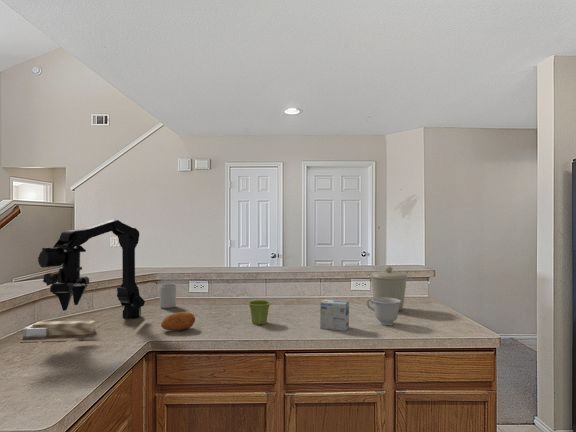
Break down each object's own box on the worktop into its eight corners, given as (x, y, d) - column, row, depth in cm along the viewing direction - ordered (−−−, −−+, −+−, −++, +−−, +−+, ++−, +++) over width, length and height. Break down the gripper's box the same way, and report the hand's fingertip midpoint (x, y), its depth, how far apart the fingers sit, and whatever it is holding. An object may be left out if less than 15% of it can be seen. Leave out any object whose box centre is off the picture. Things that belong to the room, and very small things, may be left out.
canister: (412, 308, 193) (412, 265, 193) (401, 315, 178) (401, 269, 178) (377, 303, 203) (377, 263, 203) (364, 310, 187) (364, 266, 188)
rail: (95, 331, 144) (95, 320, 145) (91, 334, 140) (91, 323, 141) (38, 332, 142) (38, 321, 142) (32, 335, 138) (32, 324, 138)
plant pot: (274, 321, 165) (274, 301, 166) (263, 327, 157) (264, 305, 157) (255, 319, 169) (255, 299, 169) (244, 324, 161) (244, 303, 161)
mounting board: (104, 325, 158) (104, 321, 158) (83, 341, 137) (83, 336, 137) (50, 326, 156) (50, 322, 156) (19, 342, 135) (19, 338, 135)
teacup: (372, 317, 173) (372, 295, 173) (405, 323, 164) (405, 299, 165) (360, 323, 163) (360, 299, 163) (395, 329, 155) (395, 304, 155)
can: (171, 309, 188) (171, 284, 188) (157, 308, 189) (157, 283, 189) (178, 306, 195) (178, 282, 195) (164, 305, 196) (165, 281, 197)
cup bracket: (56, 330, 145) (56, 322, 145) (45, 337, 137) (46, 328, 137) (34, 331, 144) (34, 323, 144) (22, 337, 136) (22, 329, 136)
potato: (196, 331, 151) (196, 312, 151) (161, 334, 146) (162, 315, 146) (193, 326, 157) (193, 308, 157) (160, 329, 152) (160, 311, 153)
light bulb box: (349, 327, 158) (349, 300, 158) (346, 331, 152) (346, 303, 152) (323, 324, 161) (323, 298, 162) (319, 328, 155) (319, 301, 155)
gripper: (60, 262, 150) (59, 302, 150) (33, 268, 132) (33, 314, 131) (90, 262, 151) (89, 302, 151) (68, 267, 133) (67, 313, 133)
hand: (70, 307), depth 142 cm, fingers open, 9 cm apart
